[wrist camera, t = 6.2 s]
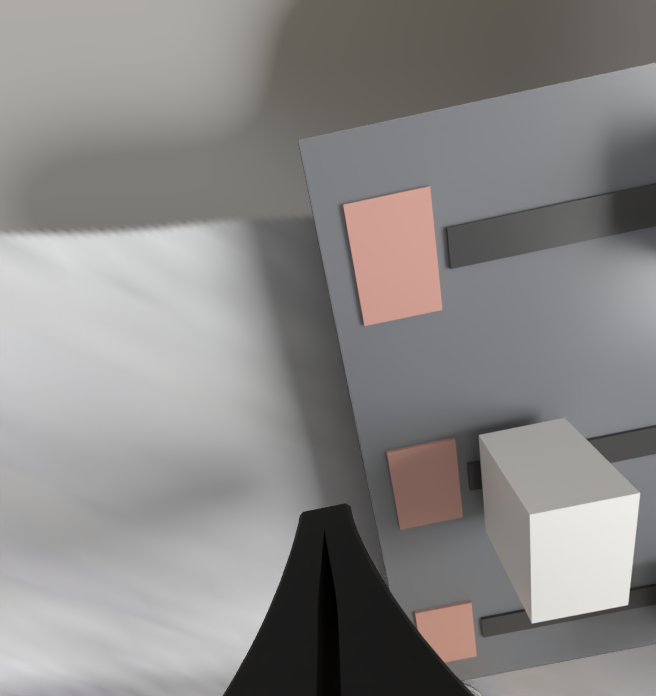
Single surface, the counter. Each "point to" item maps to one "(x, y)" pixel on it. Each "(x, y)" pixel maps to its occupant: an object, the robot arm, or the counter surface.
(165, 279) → the counter surface
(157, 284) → the counter surface
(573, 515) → the block
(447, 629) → the breaker board
